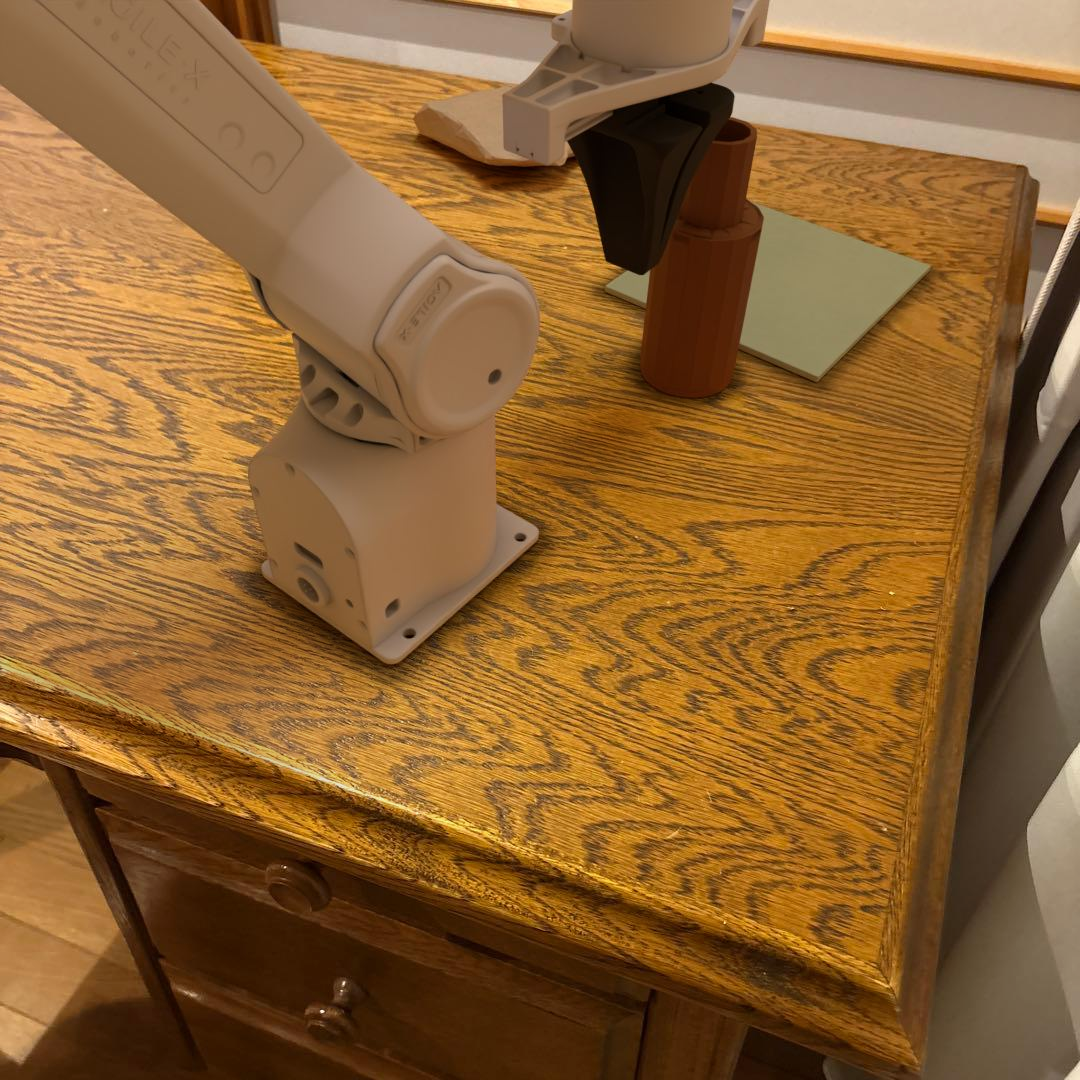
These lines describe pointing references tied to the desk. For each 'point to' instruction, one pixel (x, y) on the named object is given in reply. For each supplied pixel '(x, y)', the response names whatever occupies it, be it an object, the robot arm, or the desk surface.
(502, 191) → the desk surface
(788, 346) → the mat
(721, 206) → the bottle
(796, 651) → the desk surface
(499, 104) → the stone
